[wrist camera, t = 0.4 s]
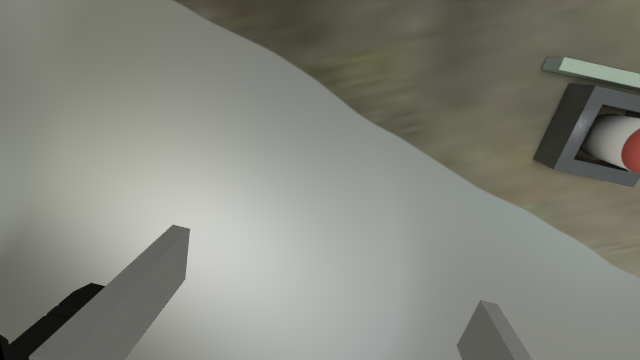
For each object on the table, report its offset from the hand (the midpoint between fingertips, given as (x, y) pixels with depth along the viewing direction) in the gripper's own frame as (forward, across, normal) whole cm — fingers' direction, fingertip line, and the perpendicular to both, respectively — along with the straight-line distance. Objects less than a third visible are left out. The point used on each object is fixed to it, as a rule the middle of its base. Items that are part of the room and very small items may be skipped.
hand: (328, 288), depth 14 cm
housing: (+27, +28, +9) cm, 40 cm away
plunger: (+25, +28, +9) cm, 38 cm away
